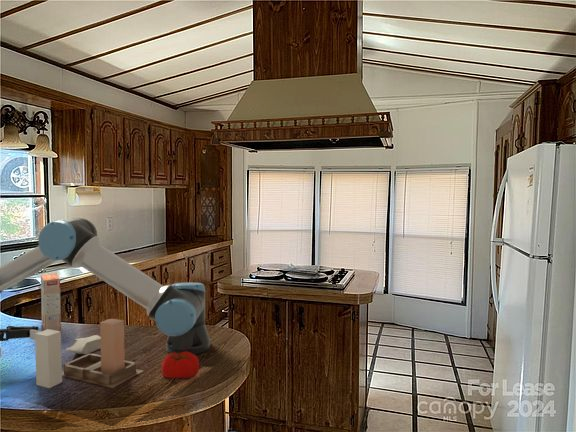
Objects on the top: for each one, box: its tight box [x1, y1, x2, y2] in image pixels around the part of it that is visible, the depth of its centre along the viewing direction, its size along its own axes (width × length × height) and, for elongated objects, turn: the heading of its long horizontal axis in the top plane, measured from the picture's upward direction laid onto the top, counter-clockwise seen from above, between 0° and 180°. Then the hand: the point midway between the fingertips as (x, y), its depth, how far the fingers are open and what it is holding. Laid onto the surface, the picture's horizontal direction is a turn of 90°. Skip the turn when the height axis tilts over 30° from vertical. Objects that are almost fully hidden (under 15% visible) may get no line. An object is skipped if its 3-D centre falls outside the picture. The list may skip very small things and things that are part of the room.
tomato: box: [161, 351, 200, 380], centre depth 125 cm, size 10×11×6 cm
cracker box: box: [40, 272, 62, 332], centre depth 167 cm, size 14×6×21 cm, turn 34°
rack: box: [62, 352, 144, 389], centre depth 124 cm, size 22×12×4 cm, turn 67°
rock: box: [65, 334, 101, 355], centre depth 146 cm, size 21×5×15 cm
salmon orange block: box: [99, 318, 126, 374], centre depth 122 cm, size 4×5×16 cm
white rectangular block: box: [34, 329, 63, 389], centre depth 116 cm, size 4×5×16 cm
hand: (24, 344), depth 120 cm, fingers open, 13 cm apart
